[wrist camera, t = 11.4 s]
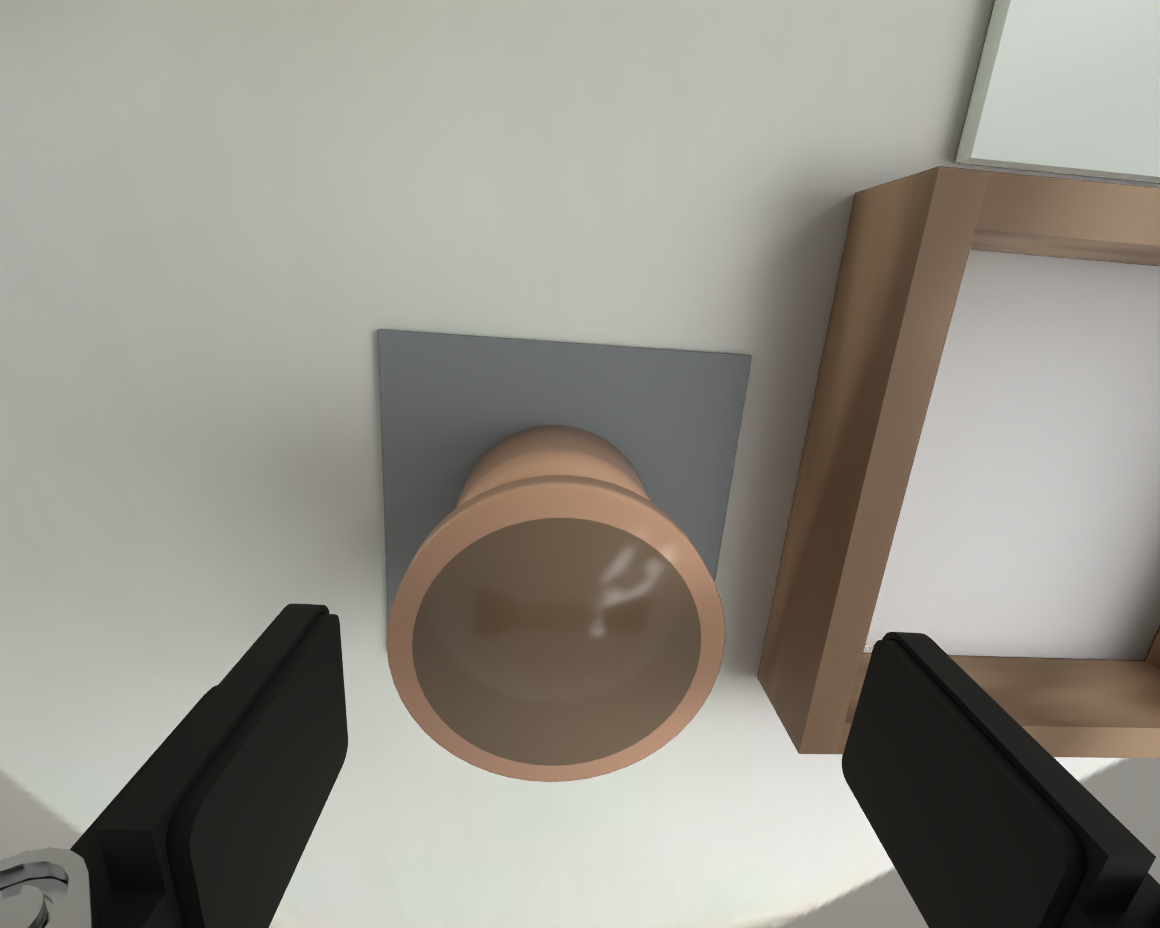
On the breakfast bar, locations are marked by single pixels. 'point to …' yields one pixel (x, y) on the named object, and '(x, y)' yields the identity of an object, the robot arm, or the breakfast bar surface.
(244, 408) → the breakfast bar surface
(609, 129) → the breakfast bar surface
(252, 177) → the breakfast bar surface
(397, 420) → the slate mat
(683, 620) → the terracotta pot
